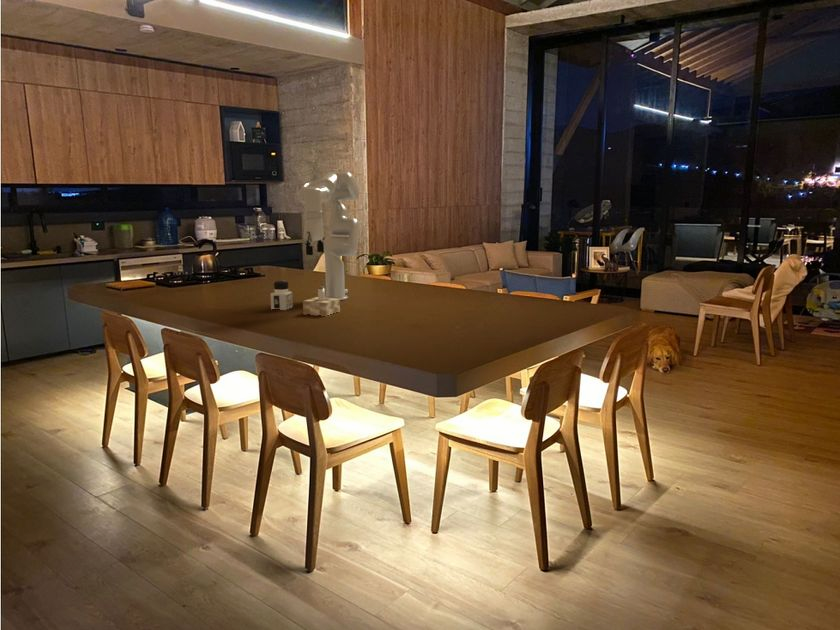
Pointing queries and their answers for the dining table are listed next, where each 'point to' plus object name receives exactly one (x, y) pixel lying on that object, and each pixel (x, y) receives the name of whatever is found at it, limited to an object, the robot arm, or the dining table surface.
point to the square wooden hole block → (321, 306)
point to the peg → (321, 293)
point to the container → (281, 296)
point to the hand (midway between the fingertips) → (315, 253)
